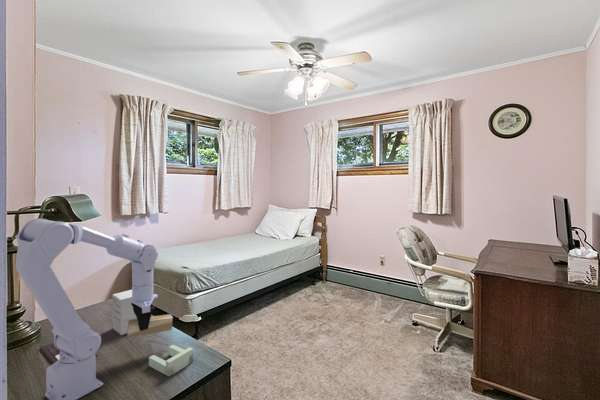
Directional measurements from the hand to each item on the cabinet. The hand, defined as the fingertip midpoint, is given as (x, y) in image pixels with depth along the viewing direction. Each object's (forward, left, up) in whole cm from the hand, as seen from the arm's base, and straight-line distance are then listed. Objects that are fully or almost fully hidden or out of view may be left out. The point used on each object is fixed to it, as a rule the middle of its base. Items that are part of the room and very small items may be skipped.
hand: (143, 326), depth 90 cm
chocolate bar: (-12, +19, -9) cm, 24 cm away
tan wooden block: (+2, -1, -2) cm, 3 cm away
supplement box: (+6, +19, -9) cm, 22 cm away
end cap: (+1, -11, -8) cm, 14 cm away
